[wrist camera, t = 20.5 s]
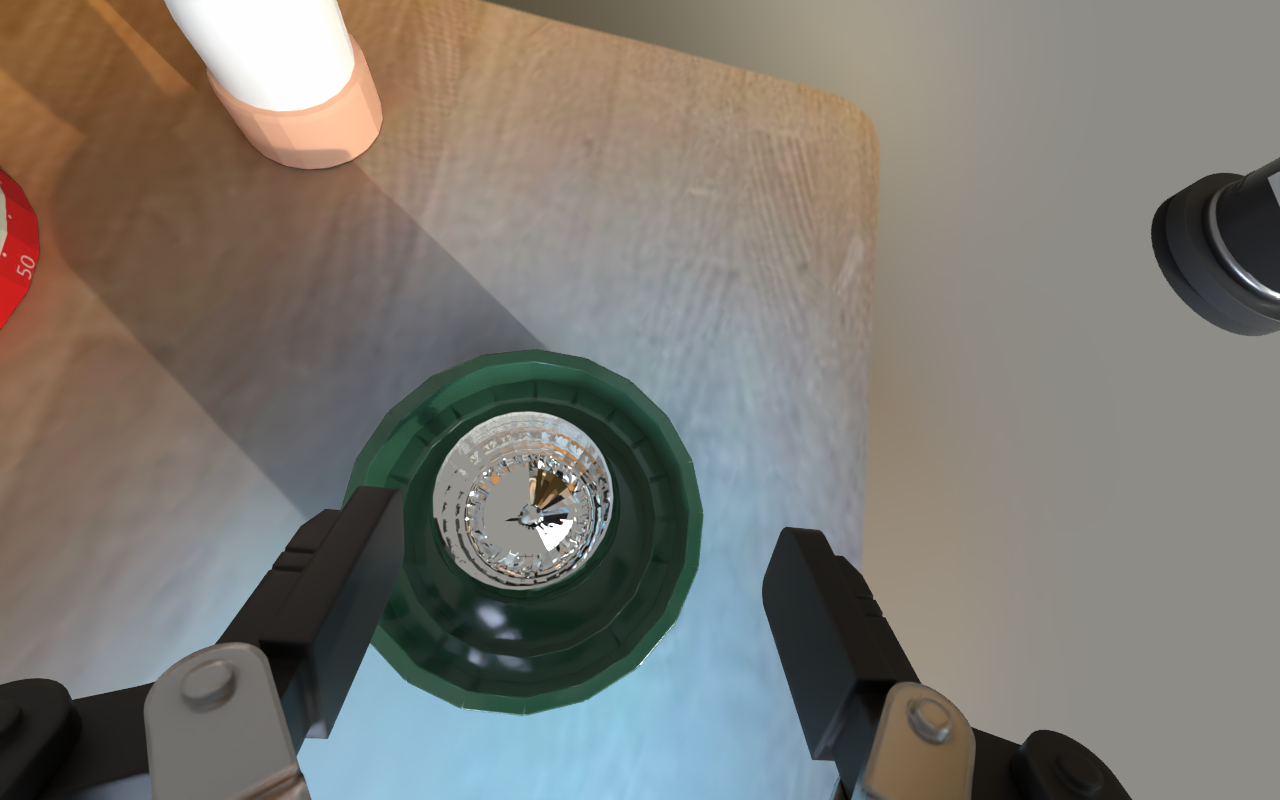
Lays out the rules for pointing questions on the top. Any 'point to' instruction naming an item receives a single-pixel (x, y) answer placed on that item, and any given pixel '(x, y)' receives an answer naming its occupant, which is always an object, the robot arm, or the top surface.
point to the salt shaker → (286, 76)
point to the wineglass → (524, 509)
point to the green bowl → (574, 624)
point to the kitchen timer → (15, 245)
